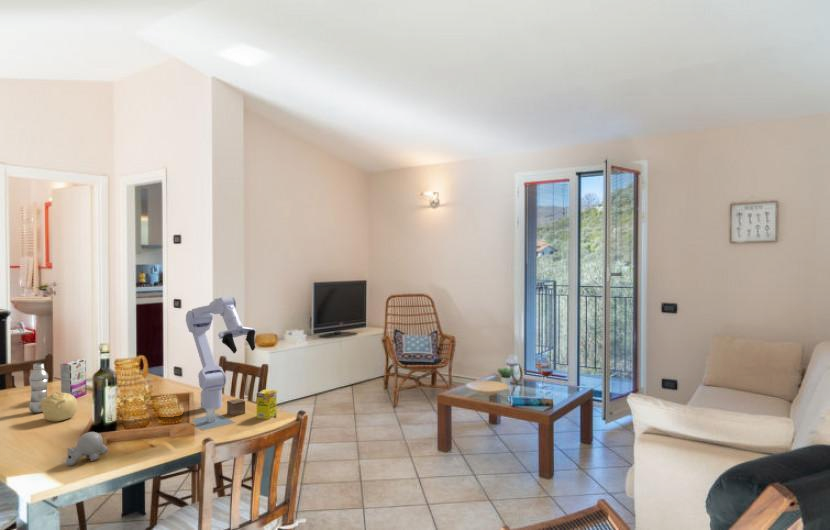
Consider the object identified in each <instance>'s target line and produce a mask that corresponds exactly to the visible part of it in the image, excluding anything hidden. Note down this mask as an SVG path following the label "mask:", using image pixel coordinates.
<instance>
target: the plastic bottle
mask: <svg viewBox="0 0 830 530" xmlns="http://www.w3.org/2000/svg"><path fill="white" fill-rule="evenodd" d="M32 366H33V367H32V369H33V371H32V372H31V374H30V375H29V377H28V380H29V385H30V386H29V387H30V401H29V406H28V408H29V411H30V413H31V414H32V413H33V414H36V413H38V414H39V413H43V411H42V409H41V404H40V402H41V400H42V399H44V398H45V397H46V396H48V382H49V373H48V372H47V371H46V370H45V363H43V362H42V363H40V362H38V363H34V364H32Z"/></svg>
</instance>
